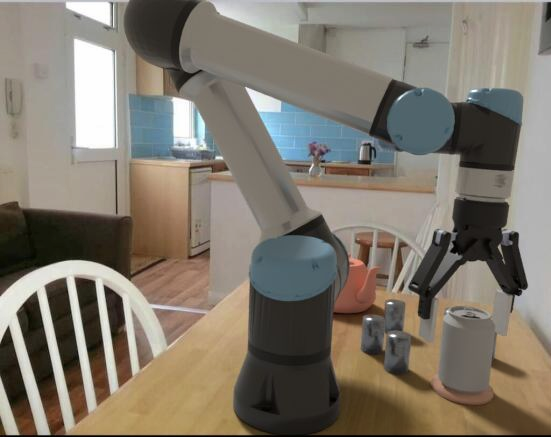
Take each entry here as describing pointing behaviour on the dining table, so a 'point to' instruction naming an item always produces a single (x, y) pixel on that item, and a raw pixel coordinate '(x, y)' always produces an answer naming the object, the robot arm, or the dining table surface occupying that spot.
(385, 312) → the chrome peg cluster
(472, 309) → the can
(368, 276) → the teapot
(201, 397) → the dining table surface
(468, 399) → the pink flat disc
